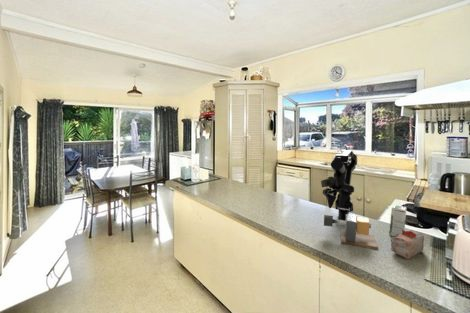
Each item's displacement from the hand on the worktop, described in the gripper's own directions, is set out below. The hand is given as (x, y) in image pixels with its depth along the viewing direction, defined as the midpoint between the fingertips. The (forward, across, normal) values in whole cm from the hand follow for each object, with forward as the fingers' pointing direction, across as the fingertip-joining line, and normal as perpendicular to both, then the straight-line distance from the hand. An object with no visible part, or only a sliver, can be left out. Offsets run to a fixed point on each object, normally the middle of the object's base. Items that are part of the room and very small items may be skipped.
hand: (334, 207), depth 117 cm
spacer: (+8, +1, +14) cm, 16 cm away
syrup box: (+3, -2, +36) cm, 36 cm away
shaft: (+7, -1, +8) cm, 11 cm away
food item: (+13, +12, +29) cm, 34 cm away
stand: (+12, -1, +15) cm, 19 cm away
